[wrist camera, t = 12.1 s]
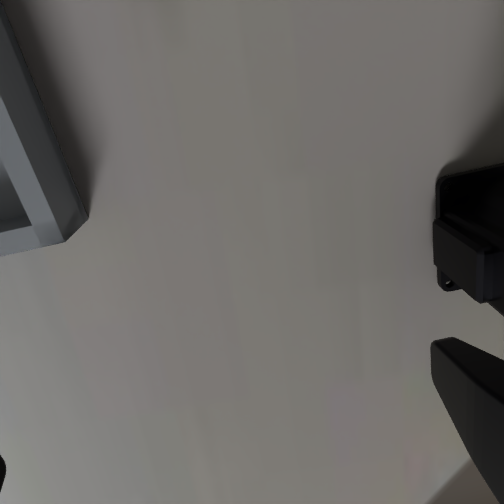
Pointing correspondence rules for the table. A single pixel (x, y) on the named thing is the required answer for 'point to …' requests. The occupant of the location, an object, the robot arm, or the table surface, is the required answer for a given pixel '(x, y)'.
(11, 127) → the tray
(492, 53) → the table surface
